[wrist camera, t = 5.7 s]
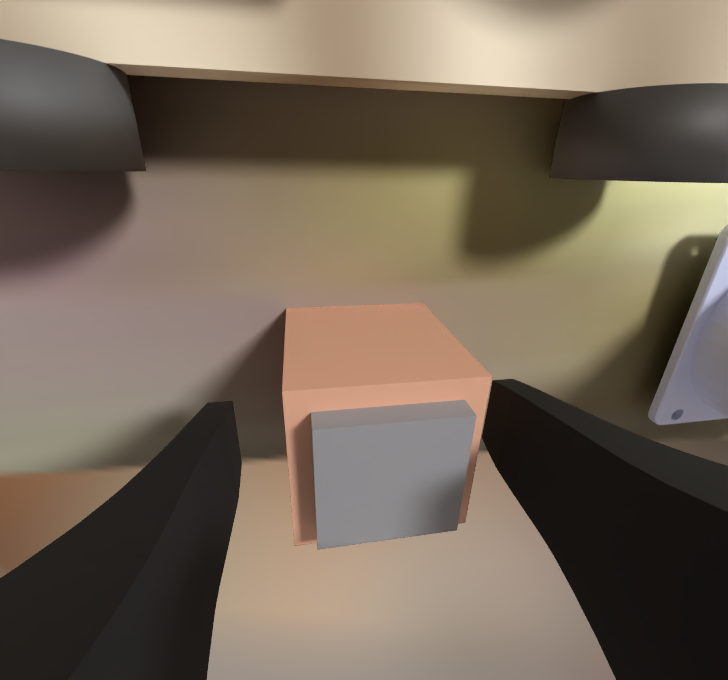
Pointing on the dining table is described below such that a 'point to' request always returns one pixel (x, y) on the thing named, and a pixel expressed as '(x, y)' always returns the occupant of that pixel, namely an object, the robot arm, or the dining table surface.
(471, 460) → the orange rectangular block
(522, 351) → the dining table surface
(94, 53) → the chassis
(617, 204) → the dining table surface
